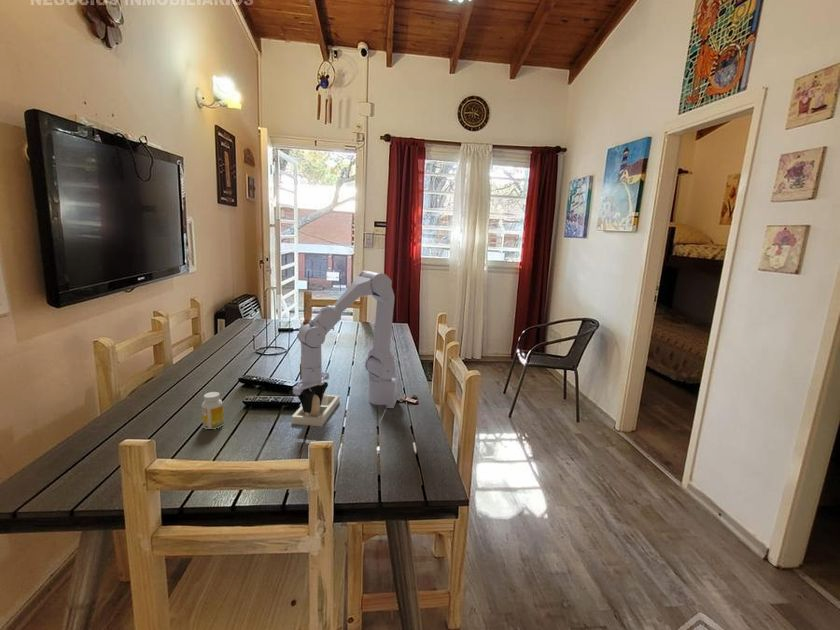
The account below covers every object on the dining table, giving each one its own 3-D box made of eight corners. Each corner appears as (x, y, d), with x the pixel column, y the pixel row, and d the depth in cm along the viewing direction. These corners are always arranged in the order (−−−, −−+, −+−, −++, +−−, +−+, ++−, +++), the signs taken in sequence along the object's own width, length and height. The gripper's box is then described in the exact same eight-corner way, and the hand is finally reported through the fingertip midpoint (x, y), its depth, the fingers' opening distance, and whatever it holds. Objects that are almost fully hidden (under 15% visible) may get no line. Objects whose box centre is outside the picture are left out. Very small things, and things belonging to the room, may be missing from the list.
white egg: (330, 404, 133) (330, 391, 132) (325, 410, 129) (325, 397, 128) (317, 403, 134) (317, 390, 133) (312, 409, 129) (312, 395, 128)
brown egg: (322, 413, 125) (322, 393, 123) (314, 419, 121) (313, 398, 119) (310, 410, 126) (310, 390, 125) (301, 416, 122) (301, 395, 121)
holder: (339, 404, 135) (339, 395, 135) (321, 428, 119) (321, 419, 118) (312, 402, 136) (312, 393, 136) (291, 426, 120) (291, 416, 119)
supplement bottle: (199, 430, 115) (197, 398, 113) (207, 421, 120) (205, 390, 118) (220, 430, 116) (217, 398, 114) (226, 421, 121) (224, 390, 119)
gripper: (307, 375, 112) (308, 421, 115) (337, 360, 125) (337, 402, 128) (286, 371, 115) (287, 416, 117) (317, 357, 128) (318, 398, 131)
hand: (312, 408), depth 123 cm, fingers closed on brown egg, 4 cm apart
